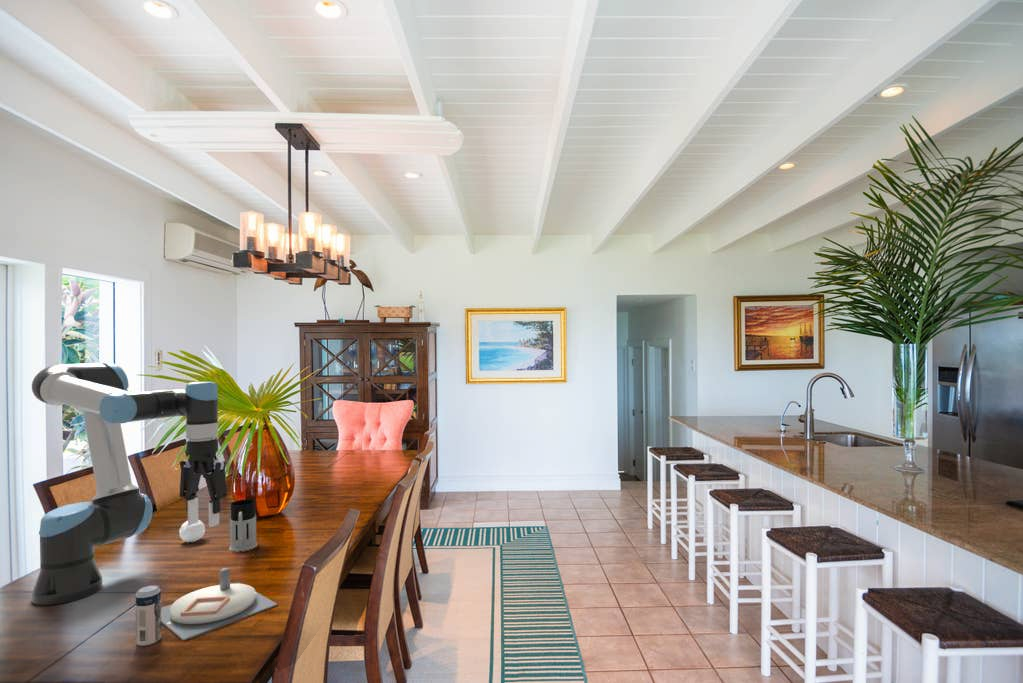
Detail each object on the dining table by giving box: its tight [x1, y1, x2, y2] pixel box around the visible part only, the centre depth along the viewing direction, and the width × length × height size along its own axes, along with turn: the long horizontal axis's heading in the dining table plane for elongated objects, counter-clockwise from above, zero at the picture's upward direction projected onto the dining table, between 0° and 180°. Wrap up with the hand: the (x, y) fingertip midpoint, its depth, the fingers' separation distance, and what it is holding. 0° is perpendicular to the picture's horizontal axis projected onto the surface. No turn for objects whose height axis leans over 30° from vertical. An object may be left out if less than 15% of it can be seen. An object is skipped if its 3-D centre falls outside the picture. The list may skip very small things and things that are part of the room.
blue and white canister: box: [135, 584, 162, 647], centre depth 125 cm, size 5×5×12 cm
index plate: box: [161, 581, 278, 642], centre depth 140 cm, size 22×22×1 cm
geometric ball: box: [178, 519, 206, 543], centre depth 193 cm, size 8×8×8 cm
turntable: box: [170, 567, 256, 624], centre depth 140 cm, size 19×19×7 cm
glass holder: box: [228, 498, 258, 553], centre depth 183 cm, size 9×14×15 cm, turn 20°
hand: (203, 524), depth 149 cm, fingers open, 6 cm apart
